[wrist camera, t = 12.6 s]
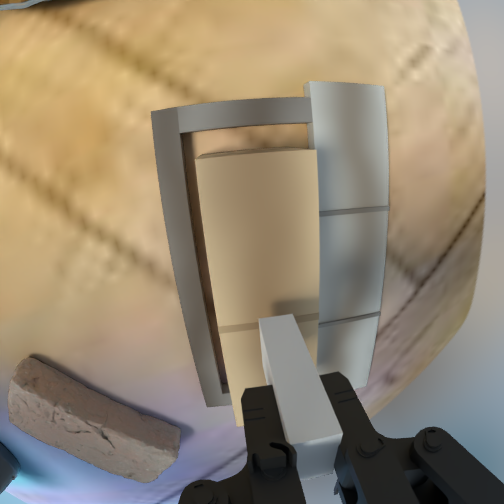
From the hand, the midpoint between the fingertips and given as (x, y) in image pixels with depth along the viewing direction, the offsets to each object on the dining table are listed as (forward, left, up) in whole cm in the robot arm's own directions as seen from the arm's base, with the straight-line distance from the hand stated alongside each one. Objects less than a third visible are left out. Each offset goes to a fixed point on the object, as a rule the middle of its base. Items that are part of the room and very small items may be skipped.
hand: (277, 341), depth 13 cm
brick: (-17, -13, -8) cm, 23 cm away
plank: (0, 0, -7) cm, 7 cm away
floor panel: (+1, 0, -7) cm, 7 cm away
